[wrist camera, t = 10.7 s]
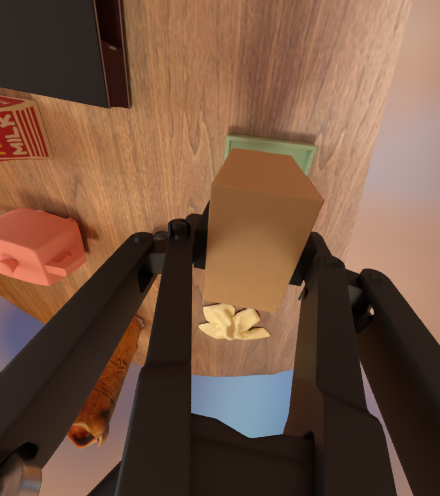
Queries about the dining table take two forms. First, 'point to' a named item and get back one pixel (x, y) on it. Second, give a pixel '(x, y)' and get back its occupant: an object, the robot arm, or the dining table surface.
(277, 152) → the tray
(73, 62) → the book
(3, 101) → the milk carton
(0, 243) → the teapot
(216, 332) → the cloth
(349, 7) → the dining table surface
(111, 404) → the vase
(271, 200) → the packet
